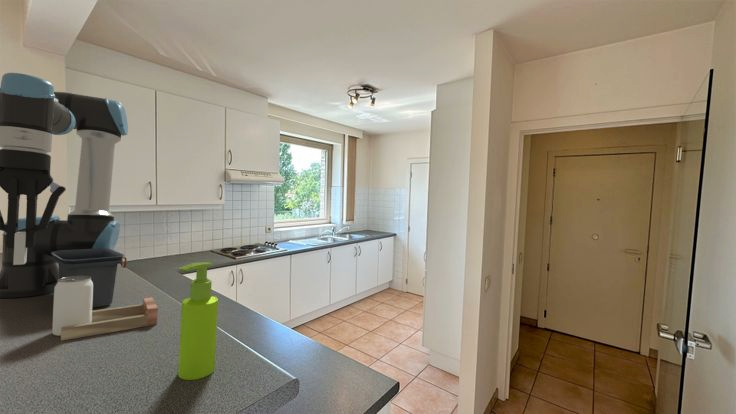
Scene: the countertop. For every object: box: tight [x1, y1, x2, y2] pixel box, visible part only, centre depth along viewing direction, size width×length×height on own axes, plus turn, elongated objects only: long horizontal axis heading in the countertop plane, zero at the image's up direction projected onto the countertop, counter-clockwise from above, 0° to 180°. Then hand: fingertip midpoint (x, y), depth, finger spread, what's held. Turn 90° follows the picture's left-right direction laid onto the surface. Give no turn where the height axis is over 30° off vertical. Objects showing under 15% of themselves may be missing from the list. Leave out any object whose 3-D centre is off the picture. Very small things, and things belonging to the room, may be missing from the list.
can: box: [51, 276, 93, 337], centre depth 71 cm, size 6×6×12 cm
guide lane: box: [60, 296, 159, 342], centre depth 75 cm, size 10×17×4 cm, turn 130°
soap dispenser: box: [177, 261, 219, 381], centre depth 57 cm, size 6×7×20 cm
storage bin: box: [51, 248, 127, 309], centre depth 91 cm, size 21×16×14 cm
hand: (20, 263), depth 65 cm, fingers closed
